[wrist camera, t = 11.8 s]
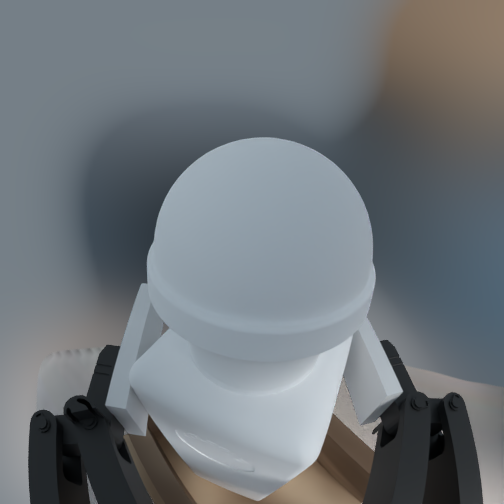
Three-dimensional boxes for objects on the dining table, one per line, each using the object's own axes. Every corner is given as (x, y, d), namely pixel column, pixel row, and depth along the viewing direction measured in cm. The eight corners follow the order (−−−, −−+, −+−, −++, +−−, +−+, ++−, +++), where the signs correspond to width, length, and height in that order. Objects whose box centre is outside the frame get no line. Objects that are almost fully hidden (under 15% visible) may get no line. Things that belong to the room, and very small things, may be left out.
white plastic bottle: (185, 474, 15) (55, 157, 4) (223, 417, 20) (219, 123, 9) (263, 508, 13) (472, 229, 2) (294, 444, 18) (404, 153, 7)
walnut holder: (271, 375, 26) (279, 338, 23) (379, 482, 15) (415, 463, 12) (123, 440, 18) (99, 412, 14) (222, 585, 7) (221, 604, 4)
